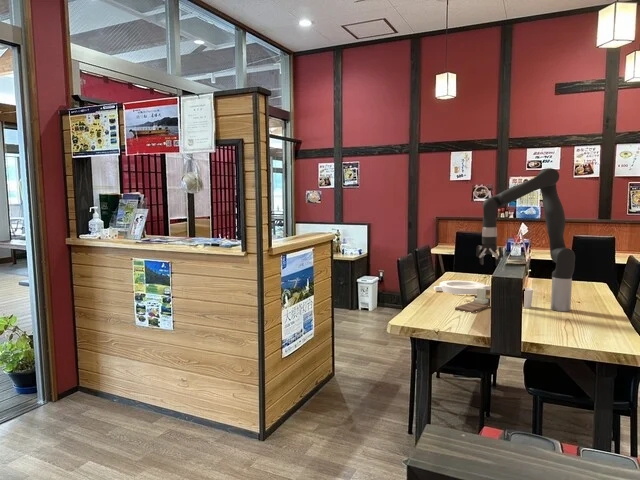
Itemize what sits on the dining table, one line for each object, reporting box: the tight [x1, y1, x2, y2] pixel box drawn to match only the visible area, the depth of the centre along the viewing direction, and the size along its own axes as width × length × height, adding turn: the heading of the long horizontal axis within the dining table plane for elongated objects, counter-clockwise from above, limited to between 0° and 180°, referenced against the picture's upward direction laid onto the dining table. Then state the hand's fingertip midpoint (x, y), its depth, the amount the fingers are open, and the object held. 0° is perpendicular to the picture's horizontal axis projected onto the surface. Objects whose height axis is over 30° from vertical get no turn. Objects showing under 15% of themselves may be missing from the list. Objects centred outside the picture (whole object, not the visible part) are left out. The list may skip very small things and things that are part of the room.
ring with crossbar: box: [433, 279, 491, 295], centre depth 284 cm, size 28×28×5 cm
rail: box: [454, 295, 491, 314], centre depth 240 cm, size 24×10×4 cm, turn 134°
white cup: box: [523, 287, 534, 309], centre depth 241 cm, size 8×8×10 cm
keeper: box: [473, 287, 489, 304], centre depth 245 cm, size 5×6×8 cm
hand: (489, 265), depth 241 cm, fingers open, 8 cm apart
